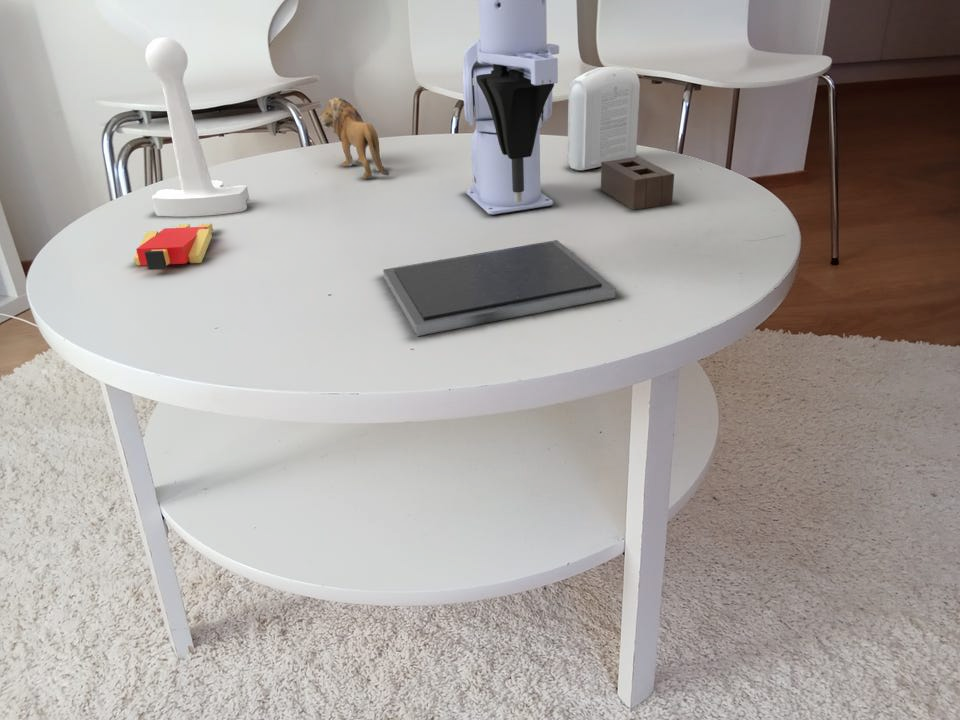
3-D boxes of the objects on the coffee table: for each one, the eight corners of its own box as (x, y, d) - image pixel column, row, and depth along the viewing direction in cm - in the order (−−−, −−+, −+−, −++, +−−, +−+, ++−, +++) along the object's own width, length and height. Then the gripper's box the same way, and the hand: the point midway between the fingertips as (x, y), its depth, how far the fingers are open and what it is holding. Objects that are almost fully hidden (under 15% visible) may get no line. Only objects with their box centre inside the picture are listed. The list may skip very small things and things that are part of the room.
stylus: (511, 200, 74) (508, 114, 70) (521, 198, 74) (519, 113, 70) (515, 203, 73) (512, 116, 69) (526, 201, 73) (524, 115, 69)
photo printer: (619, 153, 109) (623, 60, 103) (641, 159, 106) (646, 63, 100) (562, 167, 105) (562, 71, 99) (583, 173, 102) (584, 75, 95)
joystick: (151, 218, 94) (104, 42, 85) (172, 199, 101) (131, 34, 91) (242, 213, 94) (204, 37, 84) (257, 194, 101) (224, 29, 91)
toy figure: (165, 218, 88) (118, 251, 77) (224, 216, 88) (186, 248, 77) (170, 239, 89) (124, 274, 78) (228, 237, 89) (191, 272, 78)
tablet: (384, 278, 74) (382, 267, 74) (557, 249, 79) (557, 237, 78) (417, 336, 64) (415, 323, 63) (615, 298, 68) (616, 285, 67)
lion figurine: (322, 162, 113) (312, 99, 109) (354, 155, 116) (346, 93, 111) (372, 183, 103) (364, 113, 98) (406, 174, 105) (399, 106, 101)
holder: (633, 210, 88) (634, 179, 86) (600, 190, 95) (601, 161, 93) (672, 203, 89) (674, 173, 88) (636, 184, 96) (638, 156, 95)
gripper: (593, -7, 60) (590, 168, 66) (524, -15, 72) (527, 133, 79) (508, 0, 58) (513, 179, 65) (452, -9, 70) (461, 142, 77)
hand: (516, 155), depth 72 cm, fingers closed on stylus, 1 cm apart
